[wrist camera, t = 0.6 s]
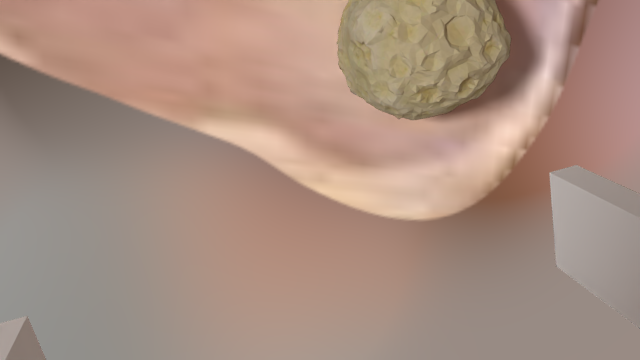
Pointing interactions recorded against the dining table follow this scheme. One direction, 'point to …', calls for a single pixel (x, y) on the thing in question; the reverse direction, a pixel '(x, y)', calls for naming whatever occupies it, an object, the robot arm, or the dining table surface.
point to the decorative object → (421, 53)
